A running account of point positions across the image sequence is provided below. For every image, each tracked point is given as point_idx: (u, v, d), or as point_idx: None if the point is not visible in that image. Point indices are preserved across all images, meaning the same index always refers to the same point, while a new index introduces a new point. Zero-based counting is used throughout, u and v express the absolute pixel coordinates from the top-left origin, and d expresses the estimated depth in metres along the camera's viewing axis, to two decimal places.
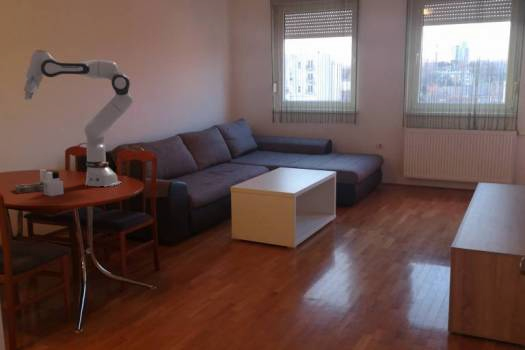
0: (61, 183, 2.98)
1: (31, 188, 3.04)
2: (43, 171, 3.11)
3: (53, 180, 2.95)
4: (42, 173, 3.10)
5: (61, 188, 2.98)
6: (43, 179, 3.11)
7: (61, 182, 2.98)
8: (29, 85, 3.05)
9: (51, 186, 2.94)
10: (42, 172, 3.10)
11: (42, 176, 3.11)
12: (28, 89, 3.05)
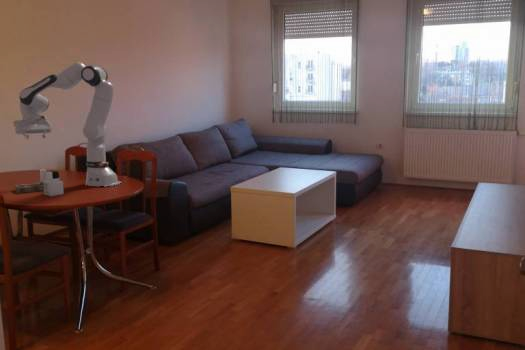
0: (61, 183, 2.98)
1: (31, 188, 3.04)
2: (43, 171, 3.11)
3: (53, 180, 2.95)
4: (42, 173, 3.10)
5: (61, 188, 2.98)
6: (43, 179, 3.11)
7: (61, 182, 2.98)
8: (15, 126, 3.16)
9: (51, 186, 2.94)
10: (42, 172, 3.10)
11: (42, 176, 3.11)
12: (15, 129, 3.15)
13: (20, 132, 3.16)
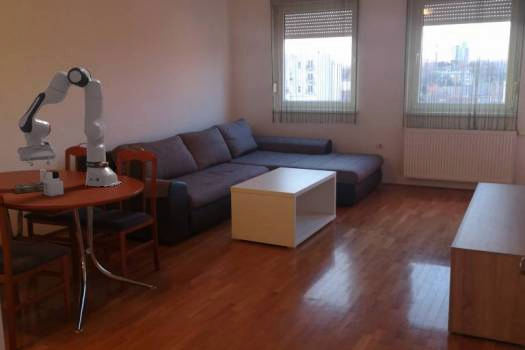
0: (61, 183, 2.98)
1: (31, 188, 3.04)
2: (43, 171, 3.11)
3: (53, 180, 2.95)
4: (42, 173, 3.10)
5: (61, 188, 2.98)
6: (43, 179, 3.11)
7: (61, 182, 2.98)
8: (19, 153, 3.14)
9: (51, 186, 2.94)
10: (42, 172, 3.10)
11: (42, 176, 3.11)
12: (20, 156, 3.13)
13: (24, 159, 3.14)
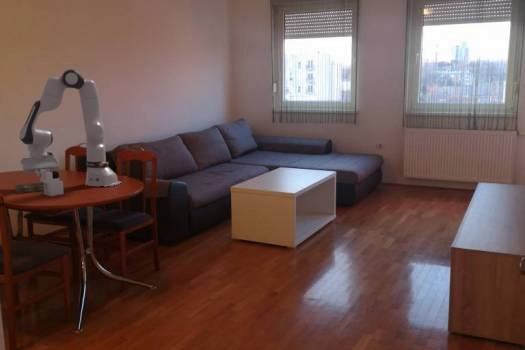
0: (61, 183, 2.98)
1: (31, 188, 3.04)
2: (43, 171, 3.11)
3: (53, 180, 2.95)
4: (42, 173, 3.10)
5: (61, 188, 2.98)
6: (43, 179, 3.11)
7: (61, 182, 2.98)
8: (22, 164, 3.10)
9: (51, 186, 2.94)
10: (42, 172, 3.10)
11: (42, 176, 3.11)
12: (23, 167, 3.08)
13: (28, 170, 3.10)
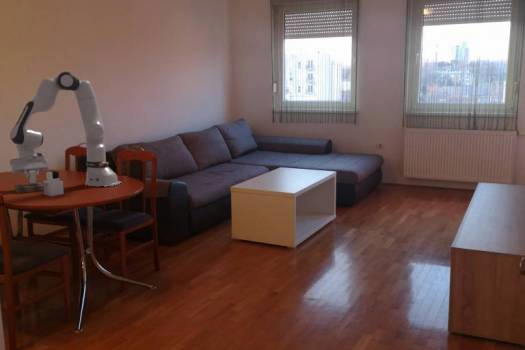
0: (61, 183, 2.98)
1: (31, 188, 3.04)
2: (32, 172, 3.07)
3: (53, 180, 2.95)
4: (31, 174, 3.07)
5: (61, 188, 2.98)
6: (32, 180, 3.08)
7: (61, 182, 2.98)
8: (11, 165, 3.06)
9: (51, 186, 2.94)
10: (31, 173, 3.07)
11: (31, 177, 3.07)
12: (12, 168, 3.05)
13: (16, 171, 3.06)
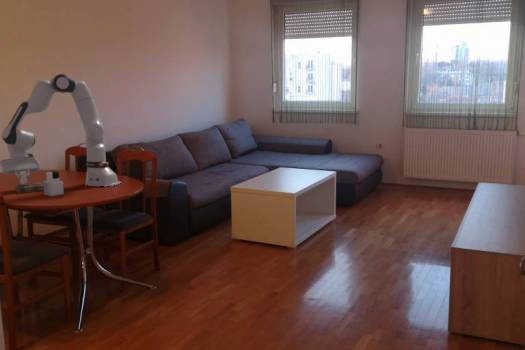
0: (61, 183, 2.98)
1: (31, 188, 3.04)
2: (23, 173, 3.04)
3: (53, 180, 2.95)
4: (22, 175, 3.04)
5: (61, 188, 2.98)
6: (23, 181, 3.05)
7: (61, 182, 2.98)
8: (2, 166, 3.03)
9: (51, 186, 2.94)
10: (22, 174, 3.04)
11: (22, 178, 3.04)
12: (2, 169, 3.02)
13: (7, 172, 3.03)
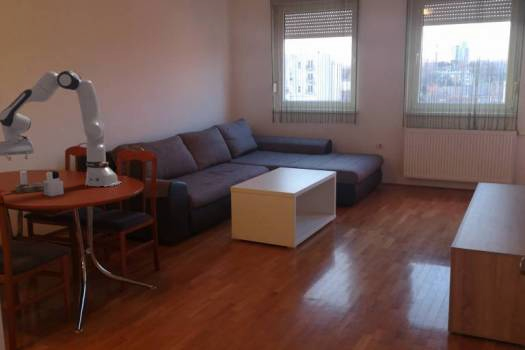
0: (61, 183, 2.98)
1: (31, 188, 3.04)
2: (23, 173, 3.04)
3: (53, 180, 2.95)
4: (22, 175, 3.04)
5: (61, 188, 2.98)
6: (23, 181, 3.05)
7: (61, 182, 2.98)
8: None
9: (51, 186, 2.94)
10: (22, 174, 3.04)
11: (22, 178, 3.05)
12: None
13: (2, 154, 3.11)
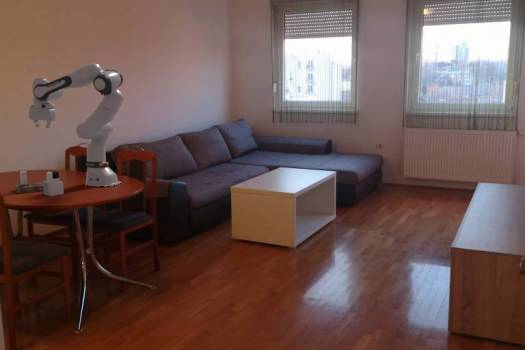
0: (61, 183, 2.98)
1: (31, 188, 3.04)
2: (23, 173, 3.04)
3: (53, 180, 2.95)
4: (22, 175, 3.04)
5: (61, 188, 2.98)
6: (23, 181, 3.05)
7: (61, 182, 2.98)
8: None
9: (51, 186, 2.94)
10: (22, 174, 3.04)
11: (22, 178, 3.05)
12: None
13: None
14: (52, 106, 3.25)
